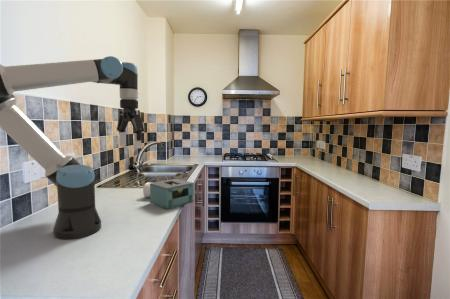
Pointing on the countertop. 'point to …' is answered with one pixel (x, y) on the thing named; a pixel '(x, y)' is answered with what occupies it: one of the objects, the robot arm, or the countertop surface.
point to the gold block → (176, 193)
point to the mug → (146, 190)
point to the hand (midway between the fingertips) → (130, 147)
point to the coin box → (170, 193)
